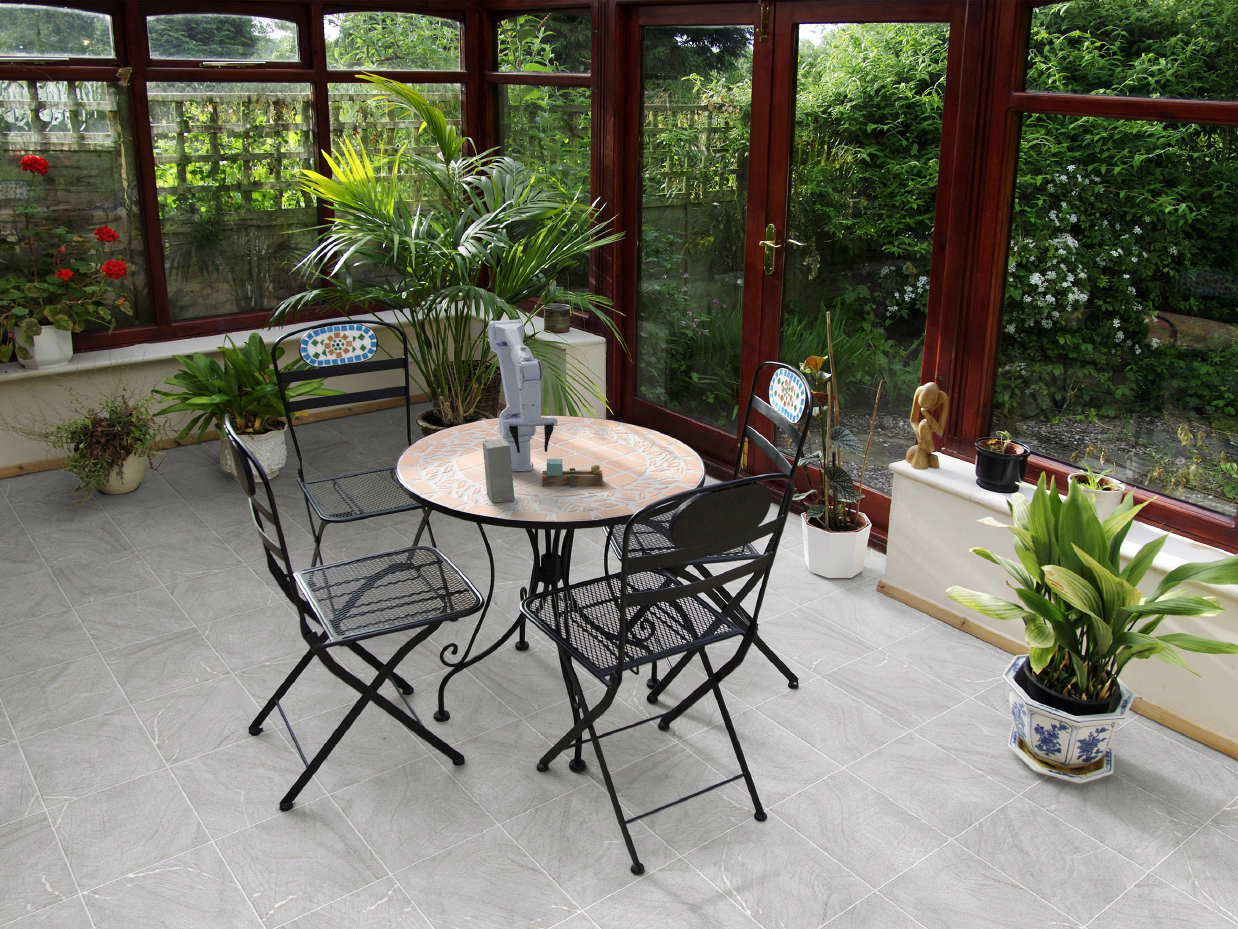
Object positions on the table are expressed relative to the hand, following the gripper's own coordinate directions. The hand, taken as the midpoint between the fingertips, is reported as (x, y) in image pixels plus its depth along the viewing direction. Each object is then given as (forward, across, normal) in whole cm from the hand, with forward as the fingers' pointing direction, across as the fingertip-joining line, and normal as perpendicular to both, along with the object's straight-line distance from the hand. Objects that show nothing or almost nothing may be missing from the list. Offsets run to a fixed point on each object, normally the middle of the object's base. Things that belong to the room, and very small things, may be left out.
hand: (532, 451), depth 310 cm
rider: (+8, +6, 0) cm, 10 cm away
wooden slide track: (+10, +11, 0) cm, 15 cm away
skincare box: (+10, -10, -10) cm, 17 cm away
